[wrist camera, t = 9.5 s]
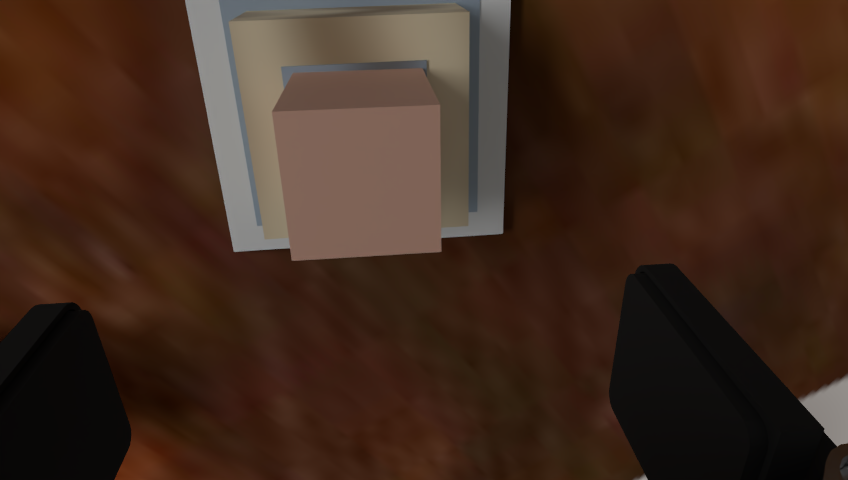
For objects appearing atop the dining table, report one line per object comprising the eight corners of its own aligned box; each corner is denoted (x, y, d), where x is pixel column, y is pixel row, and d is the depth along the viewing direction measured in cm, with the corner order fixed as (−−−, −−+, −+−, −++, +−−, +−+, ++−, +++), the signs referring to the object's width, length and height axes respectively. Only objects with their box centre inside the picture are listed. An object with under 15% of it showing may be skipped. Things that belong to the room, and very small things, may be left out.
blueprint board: (509, -63, 26) (513, -63, 25) (500, 228, 32) (503, 234, 31) (179, -52, 25) (174, -53, 24) (236, 246, 31) (233, 252, 30)
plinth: (454, 2, 26) (469, 12, 22) (455, 192, 30) (468, 226, 26) (247, 10, 25) (227, 21, 22) (276, 203, 30) (264, 240, 26)
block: (422, 68, 23) (440, 104, 18) (424, 187, 25) (441, 251, 20) (292, 73, 23) (271, 111, 17) (306, 193, 25) (291, 260, 20)
